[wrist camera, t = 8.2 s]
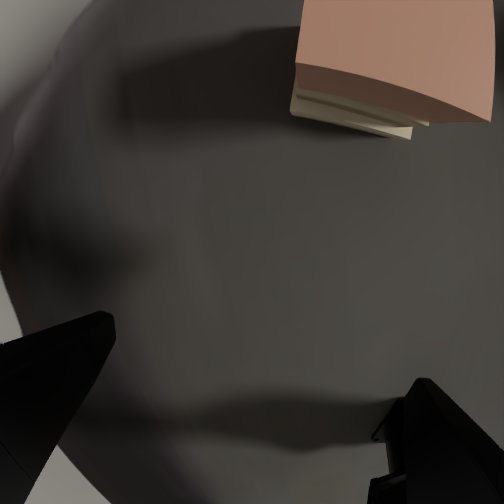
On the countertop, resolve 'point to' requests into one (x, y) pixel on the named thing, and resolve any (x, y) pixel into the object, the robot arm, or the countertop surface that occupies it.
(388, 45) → the terracotta block
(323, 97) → the tower mid
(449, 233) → the countertop surface
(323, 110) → the tower base
